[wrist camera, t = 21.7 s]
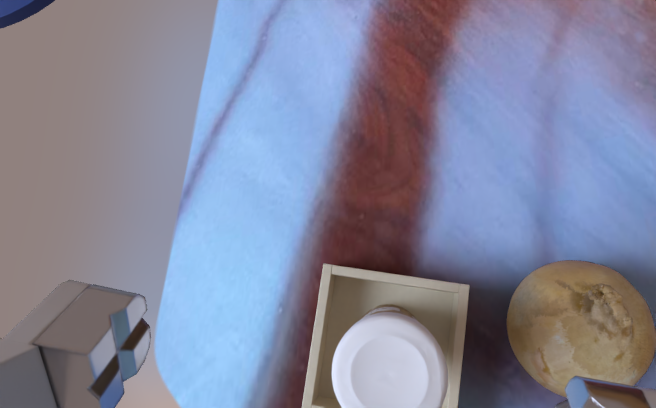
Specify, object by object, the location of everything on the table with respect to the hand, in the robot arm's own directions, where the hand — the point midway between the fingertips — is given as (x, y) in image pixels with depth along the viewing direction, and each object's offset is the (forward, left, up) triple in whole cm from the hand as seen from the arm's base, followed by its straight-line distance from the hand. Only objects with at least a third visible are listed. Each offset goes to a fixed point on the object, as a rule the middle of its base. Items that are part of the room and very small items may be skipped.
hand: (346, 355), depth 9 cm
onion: (+12, +1, -24) cm, 27 cm away
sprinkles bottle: (+1, -2, -23) cm, 23 cm away
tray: (+1, -2, -24) cm, 24 cm away
